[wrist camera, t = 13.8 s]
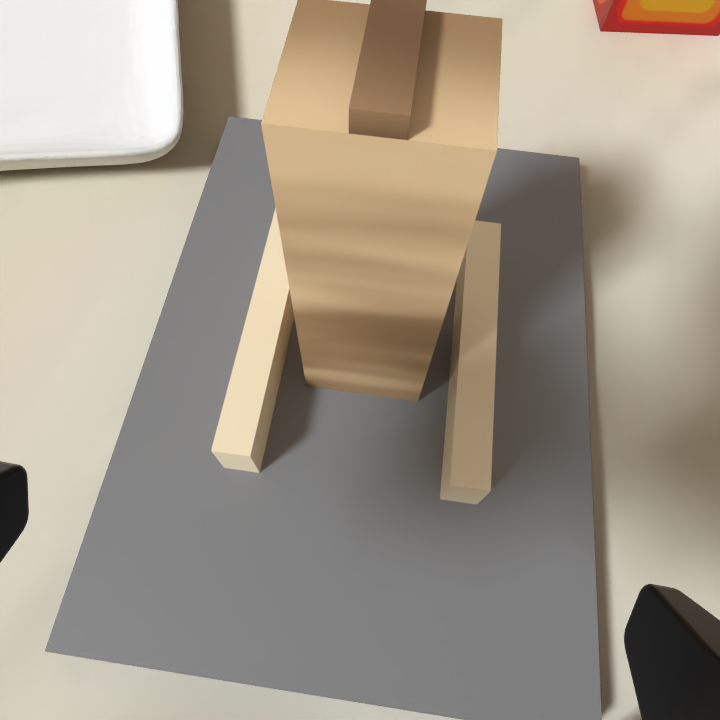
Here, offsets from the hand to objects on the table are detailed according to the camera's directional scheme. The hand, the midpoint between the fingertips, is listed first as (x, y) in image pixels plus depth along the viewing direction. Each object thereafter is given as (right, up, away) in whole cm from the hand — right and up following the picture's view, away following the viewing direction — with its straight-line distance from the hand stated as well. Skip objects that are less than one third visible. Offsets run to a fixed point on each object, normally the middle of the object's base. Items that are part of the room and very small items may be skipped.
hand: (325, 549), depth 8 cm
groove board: (+1, +2, +14) cm, 14 cm away
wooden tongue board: (+1, +3, +13) cm, 13 cm away
